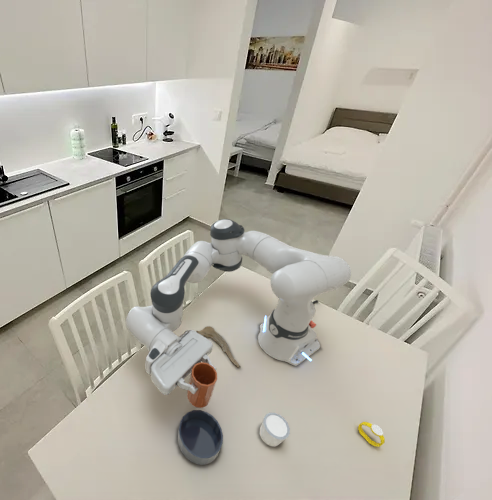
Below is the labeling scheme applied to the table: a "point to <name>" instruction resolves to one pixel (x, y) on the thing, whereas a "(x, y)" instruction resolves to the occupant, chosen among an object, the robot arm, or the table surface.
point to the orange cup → (202, 384)
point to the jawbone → (218, 341)
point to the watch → (374, 429)
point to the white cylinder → (274, 429)
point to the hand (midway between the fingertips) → (205, 381)
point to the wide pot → (200, 437)
